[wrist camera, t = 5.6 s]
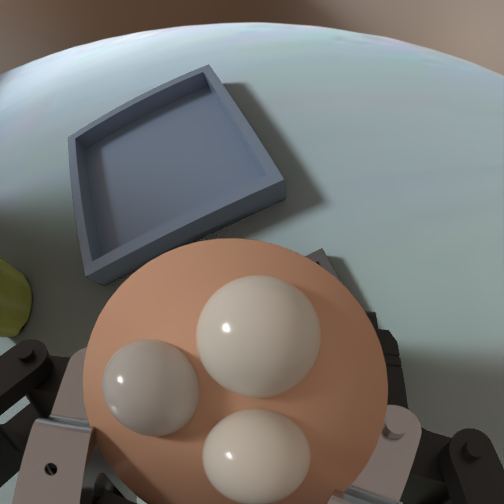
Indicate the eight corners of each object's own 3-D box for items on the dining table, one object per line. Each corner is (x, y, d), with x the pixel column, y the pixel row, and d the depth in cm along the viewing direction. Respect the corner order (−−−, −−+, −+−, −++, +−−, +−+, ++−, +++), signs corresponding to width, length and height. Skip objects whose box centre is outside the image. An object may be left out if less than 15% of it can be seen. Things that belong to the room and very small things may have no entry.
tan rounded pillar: (240, 439, 13) (131, 575, 2) (198, 343, 15) (20, 296, 4) (340, 395, 13) (458, 474, 3) (294, 300, 15) (299, 156, 4)
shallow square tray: (104, 285, 22) (85, 276, 19) (80, 151, 27) (67, 137, 25) (285, 198, 22) (284, 179, 20) (214, 83, 27) (208, 64, 25)
